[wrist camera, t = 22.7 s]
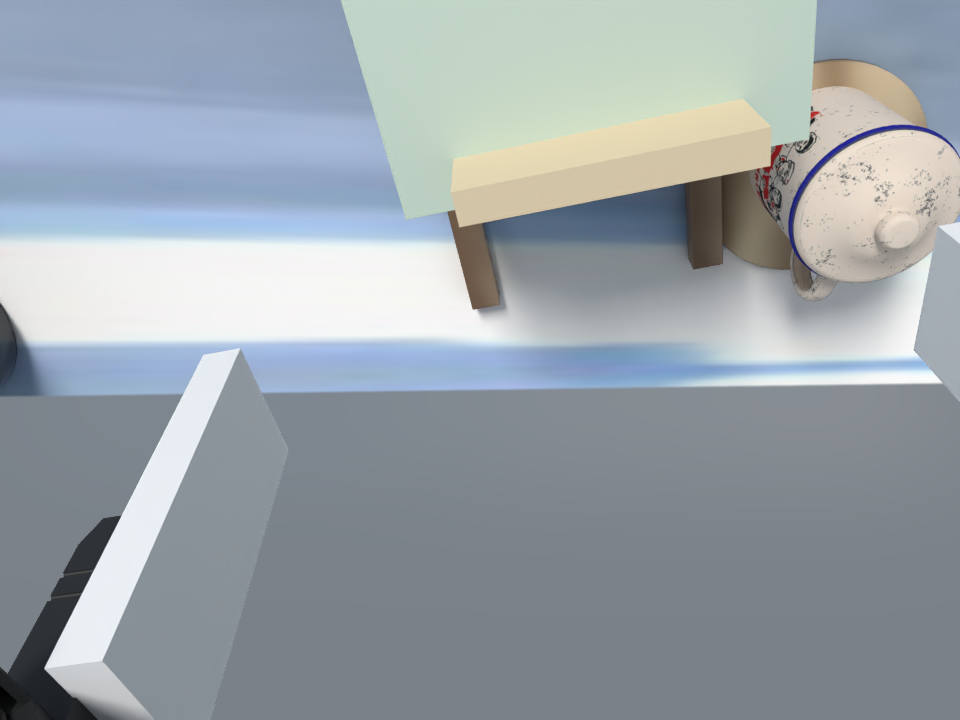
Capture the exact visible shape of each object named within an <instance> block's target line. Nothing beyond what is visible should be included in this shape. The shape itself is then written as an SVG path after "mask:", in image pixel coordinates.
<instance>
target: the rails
mask: <svg viewBox="0 0 960 720" xmlns="http://www.w3.org/2000/svg"><path fill="white" fill-rule="evenodd" d="M685 198H686V218H687V238H688V259H689V261H690V263H691V265H692V267H693V269H698V268H704V267H709V266H715V265H720V264H723V251H722V195H721V176H717V177H712V178H707V179H702V180H697V181H692V182H687V183H685ZM447 212H448V216H449V219H450V223H451V227H452V231H453V235H454V239H455V243H456V247H457V250H458V254H459V258H460V262H461V266H462V270H463V274H464V277H465V281H466V285H467V289H468V293H469V297H470V301H471V305H472V308H473V309H479V308H484V307H490V306H495V305H500V296H499V290H498V286H497V281H496V277H495V273H494V268H493V264H492V260H491V255H490V251H489V247H488V242H487V238H486V234H485V229H484V225H483V223H479V224H474V225H469V226H464V227H459V224H458V220H457V216H456V212H455V210H452V211H447Z"/></svg>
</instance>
